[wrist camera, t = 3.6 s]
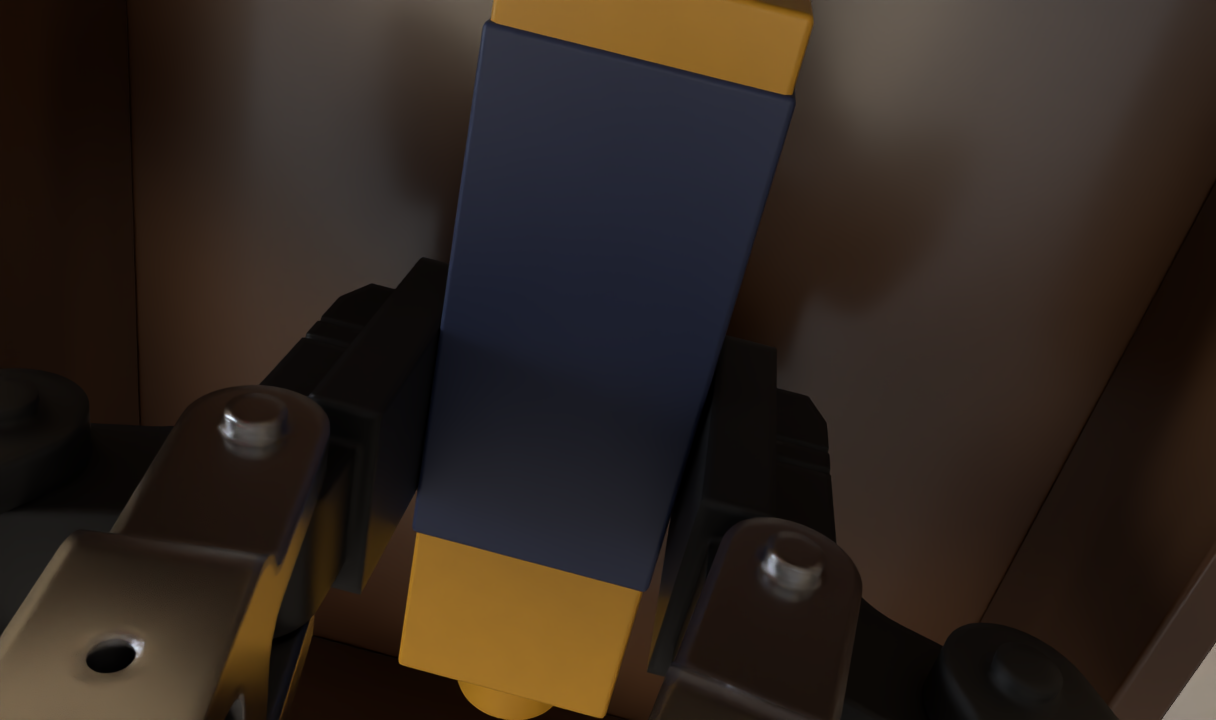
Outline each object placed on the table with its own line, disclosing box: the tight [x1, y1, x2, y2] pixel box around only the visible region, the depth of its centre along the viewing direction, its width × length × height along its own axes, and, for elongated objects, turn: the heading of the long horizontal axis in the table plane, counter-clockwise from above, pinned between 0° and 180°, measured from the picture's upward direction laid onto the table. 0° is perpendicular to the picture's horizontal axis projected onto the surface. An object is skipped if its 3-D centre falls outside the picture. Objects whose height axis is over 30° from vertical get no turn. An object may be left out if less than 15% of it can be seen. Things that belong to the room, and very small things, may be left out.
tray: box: [0, 0, 1216, 720], centre depth 12 cm, size 15×14×4 cm
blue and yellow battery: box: [398, 0, 814, 720], centre depth 12 cm, size 10×3×3 cm, turn 168°
